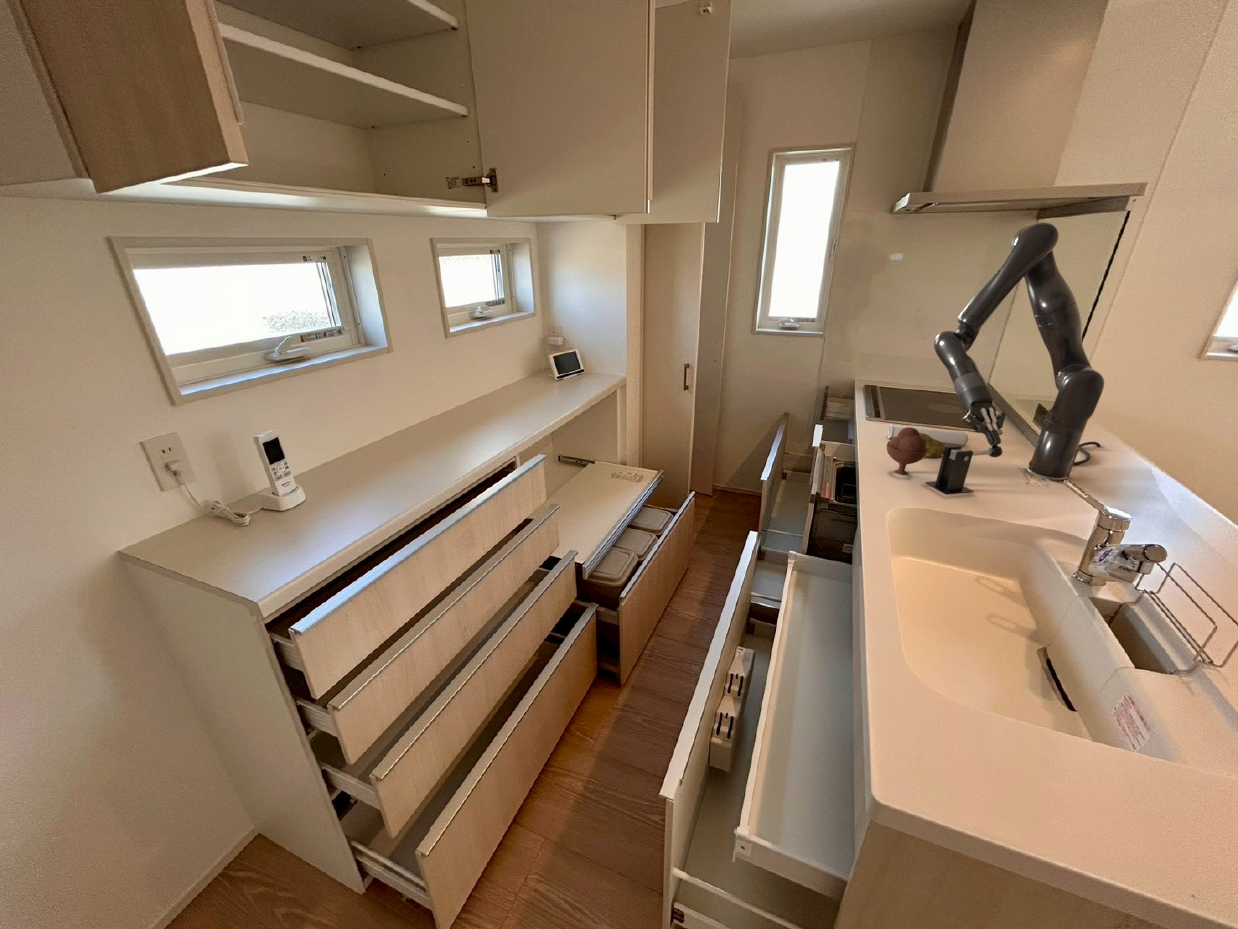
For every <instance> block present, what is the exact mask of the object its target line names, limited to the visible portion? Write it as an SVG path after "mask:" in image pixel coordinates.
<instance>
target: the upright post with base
mask: <svg viewBox="0 0 1238 929" xmlns="http://www.w3.org/2000/svg"><path fill="white" fill-rule="evenodd" d="M956 449H961V450H962V449H963V446H959V445H957V446H956V445H946V446H945V450H944V454H943V455H942V458H941V462H940V464H939V469H938V473H937V477H936V480H934V481H924V484H926V485H927V486H929V487H931V488H933V489H934V490H936V491H938V492H940V493H942V494H943V495H944V496H945V495H946V496H947V495H957V494H958V495H959V494H968V493H969V494H970V493H974V490H972V489H970V488H968V487H966V486H964V485H965V482H966V479H967V475H968V472H969V469H970V466H971V462H972V458H973V456H972V455H973V451H974V450H963V451H957V452H956V456H955V460H953V459H951V458H949V457H950V453H951V450H956Z"/></svg>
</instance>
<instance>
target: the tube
mask: <svg viewBox="0 0 1238 929" xmlns="http://www.w3.org/2000/svg"><path fill="white" fill-rule="evenodd" d="M907 427H908V426H904V425H894V424H889V427H888V432H887V438H888V440H891V439H892V438H894V437H895V436H897V435H898V433H899V432H900V431H901V430H902V429H903V428H907ZM911 427H912V428H915V429H916V430H917V431H918V432H920V433H925V434H927V435H929V436H930V437H931V438H933V439H935V440H938V441H940V442H942V443H943V444H945V445H946V446H957V445H959V446H962V447H963V446H967V444H968V442H969V434H968V433H965V432H964V431H963V432H962V431H953V430H942V429H933V428H924V427H913V426H911Z"/></svg>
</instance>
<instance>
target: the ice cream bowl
mask: <svg viewBox="0 0 1238 929" xmlns="http://www.w3.org/2000/svg"><path fill="white" fill-rule="evenodd" d="M906 427H907V428H903V429H902V430H901V431H900V432H899V433H898V435H897V436H895V437H894V438H892V439H889V441H887V443H886V452H887V454H888V456H889V457H890V459H892V460H894V461H895V462H896V463H898V464H899V466H898V469H894V470H893V473H895V474H897V475H900V476H907V475H909V472H907V471H906V466H907V465H912V464H916V463H918V462H920V461H922V460H924V458H925V457H924V456H925V455H926V453H927V450H928V448H926V442H925V440H924V439H923V438H922V437H920V434H919V432H918V431H917V430H916V429H915V428H916V427H915V428H912V427H913V426H906Z"/></svg>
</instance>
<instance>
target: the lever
mask: <svg viewBox="0 0 1238 929" xmlns="http://www.w3.org/2000/svg"><path fill="white" fill-rule="evenodd" d="M957 451H964V450H963V449H962V448H961V449H956V450H951V453H950V457H949V458H951V459H953V460H955V456H956V452H957ZM972 451H973V455H972V457H974V456H987V455H988V456H989V457H990V458H999V457H1001V456H1002V455H1003V448H1002V447H1001V446H999V445H995V446H991V445H990V446H989V447H988V448H987V449H982V450H981V449H980V450H972Z"/></svg>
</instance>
